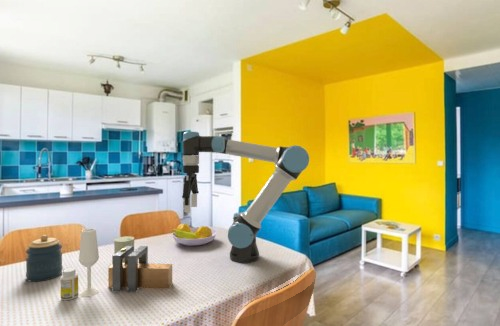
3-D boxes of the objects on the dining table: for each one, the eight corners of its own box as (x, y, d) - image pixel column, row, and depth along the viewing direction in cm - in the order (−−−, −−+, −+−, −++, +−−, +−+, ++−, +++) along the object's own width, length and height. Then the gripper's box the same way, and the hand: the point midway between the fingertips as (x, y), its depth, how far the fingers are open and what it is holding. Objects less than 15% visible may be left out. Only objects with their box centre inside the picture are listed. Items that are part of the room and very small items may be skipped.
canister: (39, 284, 118) (39, 240, 117) (18, 279, 122) (17, 237, 122) (69, 272, 130) (69, 232, 130) (49, 267, 135) (48, 229, 134)
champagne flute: (97, 295, 109) (96, 231, 108) (76, 297, 107) (76, 232, 106) (100, 287, 115) (100, 227, 115) (81, 289, 114) (81, 228, 113)
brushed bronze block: (172, 283, 120) (172, 263, 120) (168, 288, 115) (168, 268, 114) (114, 281, 121) (114, 262, 120) (108, 287, 116) (108, 267, 115)
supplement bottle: (75, 292, 111) (74, 265, 111) (80, 296, 108) (80, 269, 107) (58, 297, 107) (58, 270, 107) (63, 302, 104) (63, 274, 103)
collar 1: (133, 278, 124) (133, 244, 123) (120, 291, 112) (120, 254, 111) (126, 278, 124) (126, 244, 124) (112, 291, 112) (112, 254, 112)
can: (127, 266, 137) (127, 241, 136) (109, 265, 139) (109, 240, 138) (138, 259, 146) (138, 235, 146) (122, 258, 148) (121, 234, 147)
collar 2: (147, 278, 124) (147, 246, 123) (135, 292, 112) (135, 256, 111) (140, 278, 124) (140, 246, 123) (127, 292, 112) (127, 255, 111)
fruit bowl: (204, 234, 193) (204, 217, 193) (224, 244, 171) (224, 225, 171) (162, 241, 178) (162, 222, 177) (178, 253, 155) (178, 232, 155)
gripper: (189, 163, 150) (189, 204, 151) (175, 165, 125) (175, 214, 126) (203, 163, 150) (203, 205, 151) (192, 165, 125) (192, 215, 126)
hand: (190, 209), depth 138 cm, fingers open, 13 cm apart
